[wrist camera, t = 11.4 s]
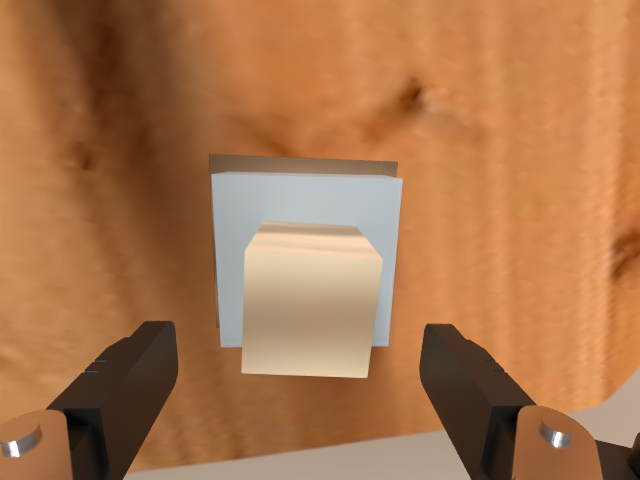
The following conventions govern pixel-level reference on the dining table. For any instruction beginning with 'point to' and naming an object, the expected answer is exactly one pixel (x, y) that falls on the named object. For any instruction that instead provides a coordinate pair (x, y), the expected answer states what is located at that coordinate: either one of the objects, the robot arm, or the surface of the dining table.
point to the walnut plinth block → (290, 166)
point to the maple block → (309, 300)
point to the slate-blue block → (306, 207)
